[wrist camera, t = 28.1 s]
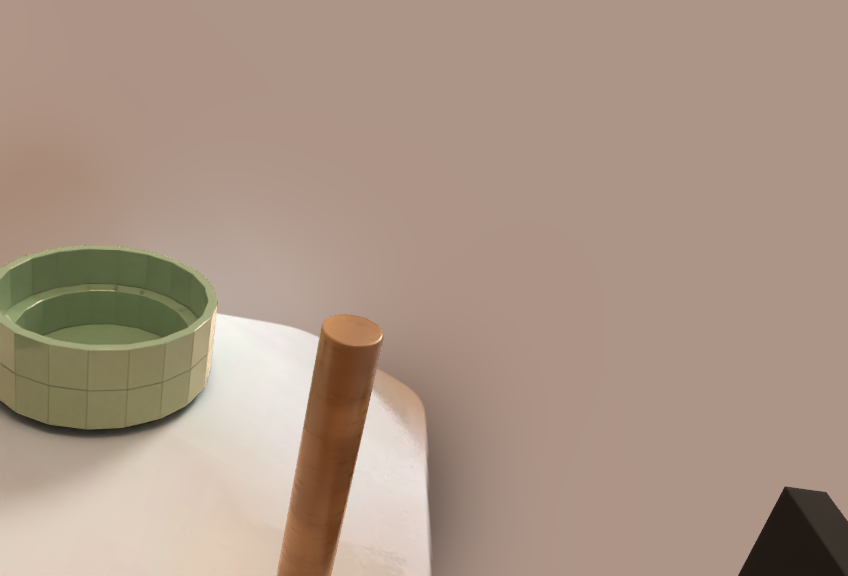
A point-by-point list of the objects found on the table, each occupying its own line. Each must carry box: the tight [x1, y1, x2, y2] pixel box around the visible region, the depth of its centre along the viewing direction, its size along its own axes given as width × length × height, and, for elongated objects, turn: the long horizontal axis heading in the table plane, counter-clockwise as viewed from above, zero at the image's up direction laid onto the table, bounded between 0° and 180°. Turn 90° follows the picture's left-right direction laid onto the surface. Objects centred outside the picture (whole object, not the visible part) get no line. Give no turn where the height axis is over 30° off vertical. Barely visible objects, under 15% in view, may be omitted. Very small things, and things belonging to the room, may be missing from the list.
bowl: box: [0, 245, 218, 430], centre depth 50 cm, size 13×13×6 cm
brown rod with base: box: [277, 315, 383, 576], centre depth 31 cm, size 5×5×18 cm
